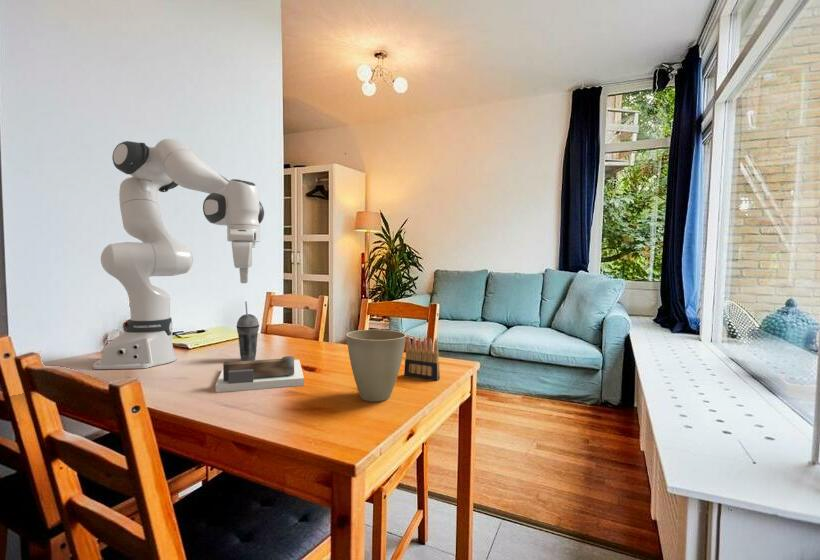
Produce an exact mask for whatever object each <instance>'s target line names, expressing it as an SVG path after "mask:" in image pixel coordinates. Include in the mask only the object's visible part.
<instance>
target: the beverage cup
mask: <svg viewBox="0 0 820 560" xmlns="http://www.w3.org/2000/svg"><path fill="white" fill-rule="evenodd" d="M244 303H245V304H244V305H245V314H243V315H241V316H240V317H238V320H237V322H236V331H237V335H238V337H237V338H238V345H239V356H240V361H253V360H256V357H257V356H256V355H257V344H258V333H259V328H260V323H259V322H260V321H259V320H258V318H257V317H256V316H255V315H254V314H250V313H248V301H245V302H244Z"/></svg>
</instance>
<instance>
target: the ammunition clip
mask: <svg viewBox="0 0 820 560" xmlns="http://www.w3.org/2000/svg"><path fill="white" fill-rule="evenodd" d="M411 340H412V341H411ZM433 342H434V343H433ZM438 342H439V341H438V339H437V338H434V341H432V338H430V337H429V341H428V342H427V338H426V337H424V339H423V340H422V338H421V336H419V337H418V340H416V337H415V336H413V337H412V339H411V337H410V335H408V336H407V337H406V347H405V359H404V370H403V371H404V373H403V375H404V377H407V378H415V379H420V380H428V381H434V382H437V381H439V380H440V376H441V375H440V361H439V358H440V357H439V343H438Z"/></svg>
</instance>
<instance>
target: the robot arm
mask: <svg viewBox="0 0 820 560" xmlns="http://www.w3.org/2000/svg"><path fill="white" fill-rule="evenodd" d="M111 159H112V163H113V166H114V167H115V168H116V169H117V170H118V171H120V172H122V173H124V174H125V175H130V176H131V177H127V178H125V179H124V180H122V181H121V183H120V185H119V194H118V195H119V199H118V200H119V201H118V202H119V209H120V215H121V220H122V226H123V229H124V230H125V232H126V234H128V235H129V236H131V237H133V238H135V239H137V240H139V241H141V242H138V241H136V242H133V241H132V242H131V241H125V242H124V241H123V242H116V243H109V244H108V245H106V247H104V249H102V252H101V255H100V264H101V266H102V268H103V270H104V271H105V272H106V273H107V274H108V275H110V276H112V277H113V278H115V279H116V280H117V281H118V282H119V283H120V284H121V285H122V286H123V287H124V290H125V291H126V292H127V296H128V301H129V310H130V312H129V313H130V318H129V319H127V320H126V321H125V322H123V323H122V327H121V328H123V332H121V333H120V334H119V335H118V336H116V337H114V338H113V339H112V340H111V341H109V342H108V343H107V344H106V345H105V346H104V348H103V351H102V354H101V359H98V360H96V362H94V363H93V365H92V368H93V370H120V369H121V370H123V369H124V370H125V369H128V370H129V369H133V370H134V369H135V370H136V369H147V368H151V367H155V366H161V365H164V364H168V363H172V362H174V361H176V360H177V355H176V354H175V349H174V346H173V340H172V333H173V319H172V317H171V296H170V295H169V294H168V292H167V291H165V290H164V289H162V288H160V287H157V286H155V285H153V284H152V283H151V280H150V277H173V276H179V275H184V274H187V273H188V272H189V271H190V269H192V266H193V262H194V256H193V254H192V252H191V250H190V249H189V248H188V247H187V246H186V245H184V244H182V243H180V242H178V241H177V240H176V239H175V238H174V237H173V236H172V235H171V234H170V233H169V232H168V231H167V229H166V227H165V225H164V223H163V222H164V221H163V219H162V215H161V212H160V205H159V202H158V196H157V195H158V191H159V192H160V193H167V192H169V190H172V189H175V188H177V187H178V186H180V187H182V188H183V189H184V188H185V189H188V190H192V191H195V192H200V193H206V194H208V195H207V196H206V197H205V199H204V201H203V203H202V211H203V215H204V217H205V219H206V220H207V221H208V222H209V223H210V224H214V225H217V226H218V225H219V226H226V227H227V228H226V234H227V235H226V237H227V239H226V241H227V242H231V249H232V250H231V251H232V260H233V265H234V268H235V269H239V277H240V279H239V280H240V283H241V284H247V283H248V281H249V279H248V278H249V268H251V267H252V266H253V248H256V243H260V241H261V240H260V239H261V238H260V237H261V236H260V231H261V230H260V228H261V227H260V225H261V223H262V221H263V220H264V218H265V217H264V216H265V209H264V207H263V204H262V202H261V200H260V195H259V190H258V186H257V184H255V183H254V182H251V181H246V180H243V179H242V180H241V179H236V178H232V179H230V180H228V179H227V178H226V177H224V176H223V175H221V174H220V173H219V172H218V171H216V170H214V169H213V168H212V167H210V166H209V165H208V164H207V163H206V162H204V160H202V159H201V158H200V157H199V156H198V155H196V154H195V153H194V152H193V151H192V150H191V149H190V148H189V147H188V146H186V145H184V144H183V143H182V142H180V141H178V140H176V139H174V138H165V139H164V138H163V139H161V140H159V141H158V142H157V144H155V146H153V147H151V146H148V145H146V143H145V142H137V141H129V140H128V141H127V140H126V141H122V142H120V143H118V144H117V145H116V146H115V147H114V149H113V153H112V156H111Z"/></svg>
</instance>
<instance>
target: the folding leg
mask: <svg viewBox="0 0 820 560" xmlns="http://www.w3.org/2000/svg"><path fill="white" fill-rule="evenodd" d="M294 360H295V356H291V355H289V356H287V355H286V356H283V357H282V358H271V359H270V358H269V359H255V360H253V361H241V360H240V361H224V362H223V365H222V367H223V368H222V370H223V381H228V372H229V370H243V369H253V378H258V377H270V376H283V375H285V376H288V375H293V374H294Z"/></svg>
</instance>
